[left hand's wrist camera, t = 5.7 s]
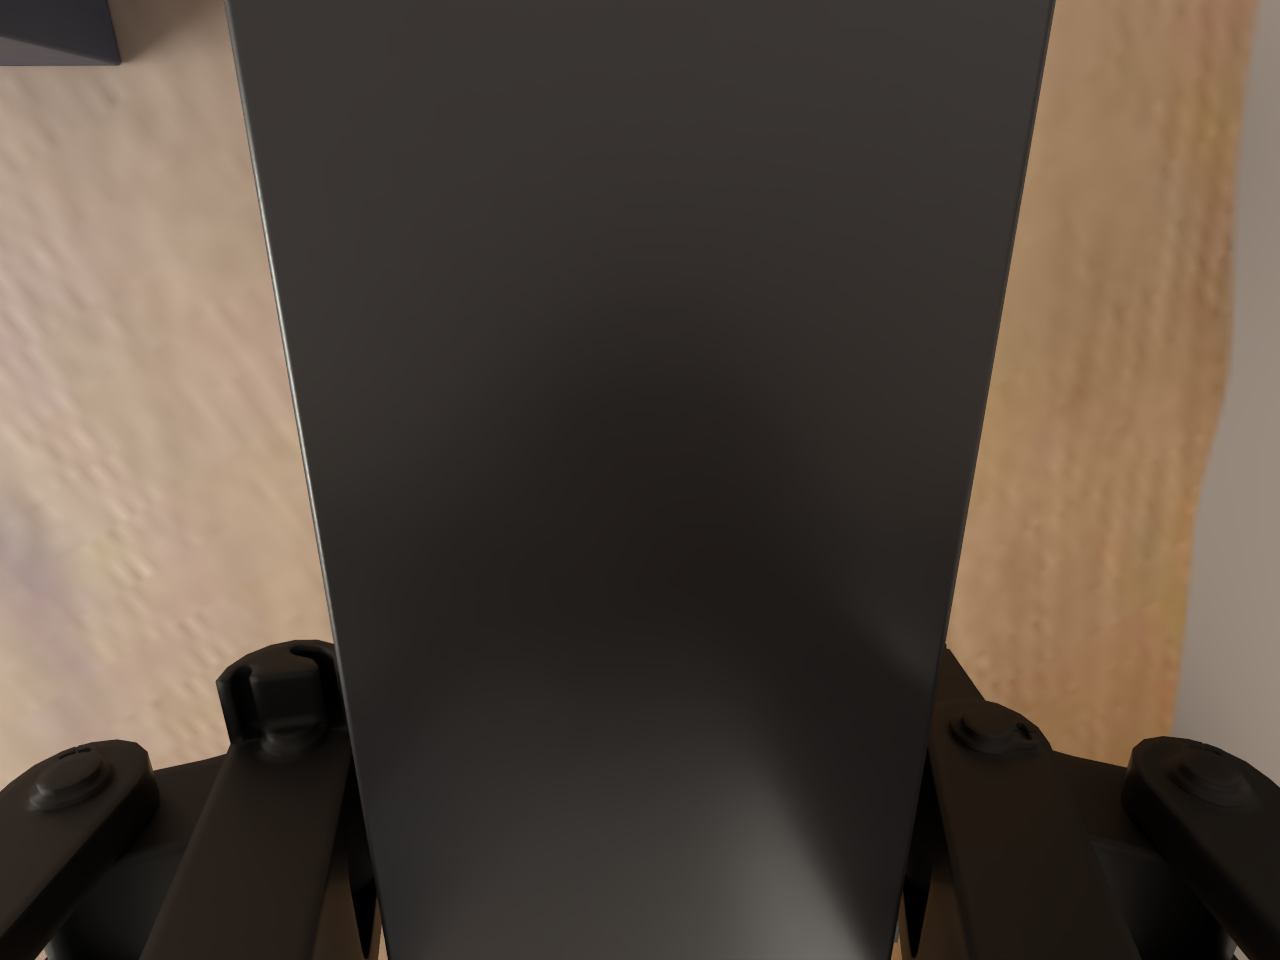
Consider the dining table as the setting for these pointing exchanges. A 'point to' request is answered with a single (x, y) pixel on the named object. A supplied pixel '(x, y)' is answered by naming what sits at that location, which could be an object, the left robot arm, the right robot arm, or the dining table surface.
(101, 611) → the dining table surface
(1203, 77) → the dining table surface
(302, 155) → the block
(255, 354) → the dining table surface
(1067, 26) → the dining table surface
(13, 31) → the cube
